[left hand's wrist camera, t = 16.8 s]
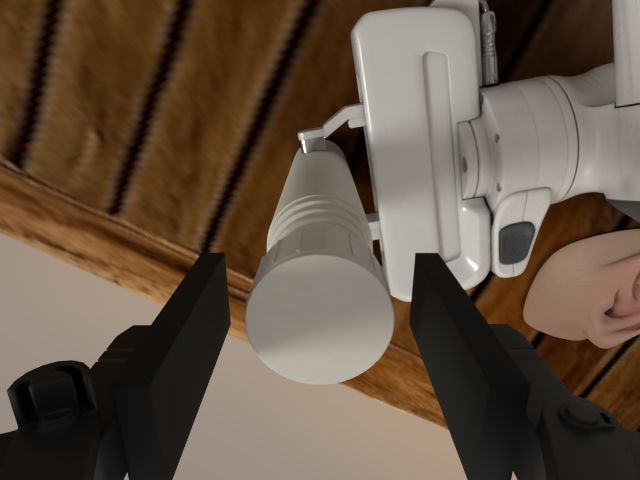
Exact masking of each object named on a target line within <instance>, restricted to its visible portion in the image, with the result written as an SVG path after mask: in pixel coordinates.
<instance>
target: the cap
mask: <svg viewBox="0 0 640 480" xmlns="http://www.w3.org/2000/svg"><path fill="white" fill-rule="evenodd" d="M389 293H391V291H390V289H389V286H388V283H387V280H386V277H385V274H384V271H383V268H382V266H380V265H379V263H378V261H377V259H376V257H375V256H374V254H373V253H372V251H371V248H370V247H367V246H366V245H365V244H364V243H362V242H361V241H360V240H359V239H357V238H355V237H354V236H352V235H351V233H349V234H348V233H345V232H343V231H340V230H336V229H331V228H327V227H325V228H308V229H304V230H302V229H299V231H297V232H294V233H291V234H290V235H288V236H286V237H284V238H282V239H281V240H280V239H279V240H277V243H276V244H275V245H274V246H273V247H272V248H271V249H270V250H269V251H268V252H267V254H266V255H265V257H264V256H263V257H262V259H261V262H260V265H259V268H258V271H257V273H256V276H255V278H254V281H253V284H252V287H251V290H250V293H249V296H248V299H247V302H246V305H247V307H246V313H245V326H246V332H247V336H248V338H249V341H250V344H251V345H252V347H253V349H254V351H255V352H256V354H257V355H258V357H259V358H260V359H261V360H262V361H263V362H264V363H265V364H266V365H267V366H268V367H270V368H271V369H272V370H274V371H275V372H277V373H278V374H280V375H282V376H284V377H286V378H288V379H291V380H294V381H297V382H302V383H307V384H321V385H323V384H333V383H338V382H342V381H345V380H349V379H351V378H353V377H356V376H358V375H359V374H361V373H363V372H365V371H366V370H367V369H369V368H370V367H371V366H373V365H374V364H375V363H376V362H377V361H378V360H379V358H380V357H381V356H382V355H383V353H384V352H385V350H386V348H387V347H388V345H389V342H390V340H391V337H392V333H393V329H394V309H393V305H392V301H391V298H390V295H389Z"/></svg>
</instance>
